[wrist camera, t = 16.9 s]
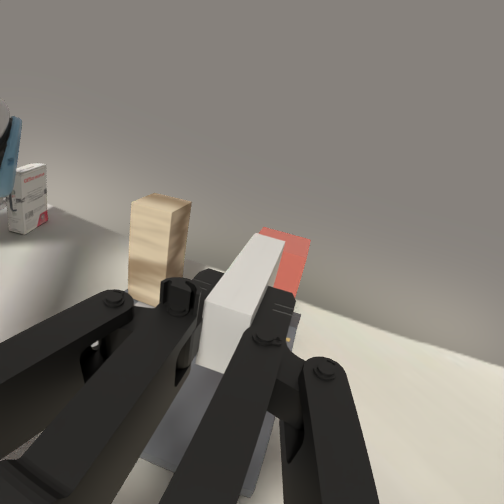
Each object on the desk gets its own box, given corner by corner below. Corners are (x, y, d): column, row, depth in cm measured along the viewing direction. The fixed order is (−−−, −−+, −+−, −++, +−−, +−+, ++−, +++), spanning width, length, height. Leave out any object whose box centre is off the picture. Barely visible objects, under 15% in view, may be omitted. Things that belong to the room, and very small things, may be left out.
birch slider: (163, 310, 37) (171, 212, 32) (128, 296, 38) (131, 202, 33) (180, 291, 41) (191, 201, 37) (147, 279, 42) (154, 193, 37)
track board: (250, 497, 20) (258, 483, 18) (27, 390, 23) (19, 368, 22) (294, 332, 41) (300, 314, 40) (143, 284, 45) (144, 265, 43)
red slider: (275, 359, 33) (306, 257, 28) (230, 346, 34) (251, 242, 29) (283, 333, 37) (310, 239, 33) (242, 321, 38) (263, 226, 33)
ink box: (31, 217, 57) (30, 162, 52) (48, 220, 57) (48, 163, 52) (6, 231, 49) (3, 170, 44) (24, 235, 49) (21, 172, 44)
